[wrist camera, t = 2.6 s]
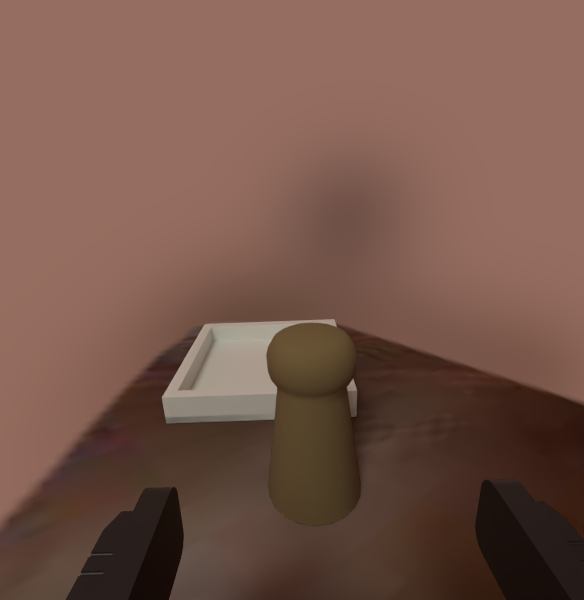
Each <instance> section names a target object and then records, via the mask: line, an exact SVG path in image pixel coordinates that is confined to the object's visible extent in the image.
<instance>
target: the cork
mask: <svg viewBox="0 0 584 600" xmlns="http://www.w3.org/2000/svg"><path fill="white" fill-rule="evenodd" d="M356 357H357V353H356V349H355V345H354V343H353V342H352V340H351V339H350V337H349V336H348V334H347V333H346V332H344V331H343V330H341V329H340V328H337V327H335V326H332V325H329V324H324V323H300V324H295V325H291V326H289V327H286V328H284V329H282V330H280V331H279V332H278V333H276V334H275V335H274V337H273V339H272V341H271V342H270V344H269V346H268V349H267V354H266V358H267V368H268V373H269V376H270V378H271V381H272V382H273V383H274V384H275V385H276V387H277V396H276V407H275V418H274V429H273V440H272V451H271V462H270V473H269V497H270V499H271V501H272V502H273V504H274V506H275V508H276V509H277V510H278V511H279V512H280V513H281V514H283V515H284V516H285V517H286V518H288V519H290V520H293V521H295V522H297V523H299V524H305V525H312V526H319V525H326V524H332V523H334V522H336V521H338V520H340V519H343V518H345V517H346V516H347V515H348V514H349V513H350V512H351V511H352V510H353V509H354V508H355V507H356V504H357V502H358V500H359V498H360V478H359V471H358V464H357V456H356V449H355V442H354V434H353V427H352V420H351V412H350V405H349V398H348V390H347V386H348V385H349V384H350V382H351V381H352V380H353V378H354V374H355V371H356Z"/></svg>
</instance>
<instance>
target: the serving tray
mask: <svg viewBox="0 0 584 600" xmlns="http://www.w3.org/2000/svg"><path fill="white" fill-rule="evenodd" d="M300 323H324V324H329V325H332V326H335V327H337V326H336V323H335V320H334V319H330V320H303V321H276V322H250V323H223V324H205V325H204V326H203V328H202V330H201V332H200V333H199V335H198V337H197V338H196V340H195V342H194V344H193V345H192V347H191V349H190V351H189V352H188V354H187V356H186V357H185V359H184V361H183V363H182V364H181V366H180V368H179V369H178V371H177V373H176V375H175V376H174V378H173V380H172V381H171V383H170V385H169V387H168V388H167V390H166V392H165V393H164V395H163V397H162V401H163V407H164V412H165V418H166V423H192V422H220V421H248V420H274V418H275V407H276V396H277V387H276V385H275V384H274V383H273V382H272V381H271V378H270V376H269V373H268V368H267V358H266V354H267V349H268V346H269V344H270V342H271V341H272V339H273V337H274V335H275V334H276V333H278V332H279V331H280V330H282V329H284V328H286V327H289V326H291V325H295V324H300ZM347 390H348V398H349V405H350V412H351V417H356V416H357V389H356V386H355V383H354V380H352V381H351V382H350V384H349V385H348V386H347Z"/></svg>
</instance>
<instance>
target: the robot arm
mask: <svg viewBox="0 0 584 600" xmlns="http://www.w3.org/2000/svg"><path fill="white" fill-rule="evenodd" d="M475 529H476V536H477V541H478V544H479V547H480V550H481V552H482V554H483V556H484V558H485V560H486V562H487V564H488V565H489V567H490V569H491V571H492V573H493V575H494V577H495V579H496V581H497V583H498V585H499V587H500V588H501V590H502V592H503V594H504V596H505V598H506V600H584V540H583V539H582V537H581V536H580V535H579V534H578V533H577V531H576V530H575V529H574V528H573V526H572V525H571V524H570V523H569V522H568V520H567V519H566V518H564V517H563V516H562V515H560V514H559V513H558V512H556V511H555V510H554V509H553V508H551V507H550V506H549V505H547V504H546V503H545V502H543V501H540V502H535V501H534V499H533V498H532V497H531V496H530V494H529V493H528V492H527V490H526V489H525V488H524V486H523V485H522V484H521V483H520V482H519V481H517V480H515V479H500V480H484V481H483V483H482V486H481V492H480V498H479V505H478V511H477V517H476V524H475ZM183 539H184V534H183V525H182V519H181V512H180V505H179V499H178V493H177V489H176V488H175V487H165V488H146V489H144V491H143V492H142V494H141V496H140V498H139V500H138V502H137V504H136V506H135V508H134V510H133V511H124V512H121V513H120V514H119V515H118V516H117V517H116V518H115V519H114V520H113V521H112V522H111V523H110V524H109V525H108V526H107V527H106V528H105V529H104V530H103V532H102V534H101V535H100V537H99V539H98V541H97V543H96V545H95V547H94V548H93V550H92V552H91V557H89V558H88V560H87V561H86V563H85V565H84V567H83V569H82V571H81V575H80V576H78V578H77V580H76V582H75V584H74V586H73V587H72V589H71V591H70V593H69V595H68V597H67V598H66V600H169V597H170V594H171V590H172V587H173V583H174V580H175V577H176V573H177V570H178V566H179V563H180V559H181V555H182V549H183Z"/></svg>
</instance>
